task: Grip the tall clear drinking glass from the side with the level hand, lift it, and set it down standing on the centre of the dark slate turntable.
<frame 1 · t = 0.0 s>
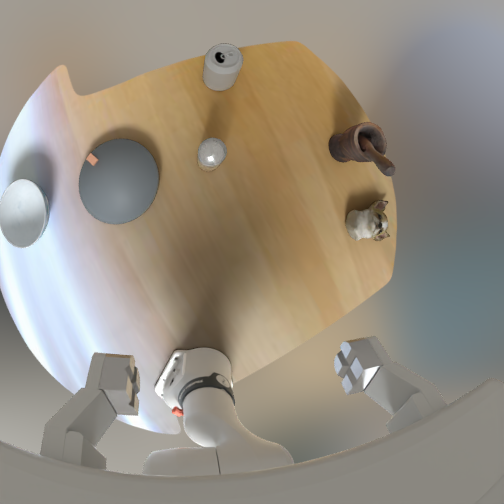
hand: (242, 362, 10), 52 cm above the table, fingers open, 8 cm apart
mortar and pestle: (342, 154, 63), on the table
can: (218, 78, 54), on the table
turntable: (117, 181, 52), point 3 cm above the table, hinge at 0.0°
clear drinking glass: (208, 160, 57), on the table
ceramic sculpture: (362, 221, 68), on the table
chinaware: (37, 211, 51), on the table
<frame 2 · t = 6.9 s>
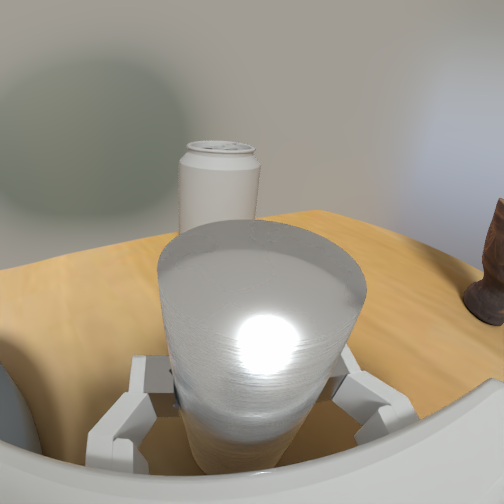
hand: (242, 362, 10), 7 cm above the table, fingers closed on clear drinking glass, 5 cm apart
mortar and pestle: (491, 317, 24), on the table
can: (214, 259, 30), on the table
clear drinking glass: (236, 444, 13), on the table, touching gripper
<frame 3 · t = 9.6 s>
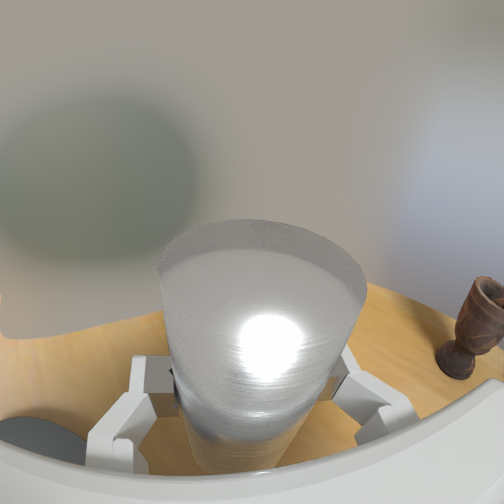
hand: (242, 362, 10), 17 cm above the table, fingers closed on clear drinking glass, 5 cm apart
mortar and pestle: (460, 370, 29), on the table
clear drinking glass: (236, 444, 13), point 10 cm above the table, touching gripper
when the fingers open (11 cm above the table, at t = 12.6 s): clear drinking glass stays where it is, resting on turntable.
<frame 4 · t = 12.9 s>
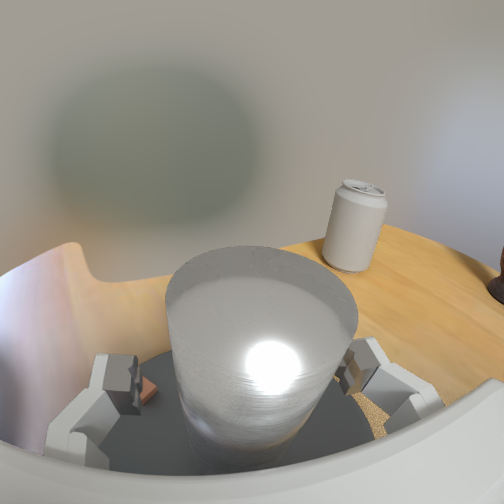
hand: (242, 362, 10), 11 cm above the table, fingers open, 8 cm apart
can: (344, 263, 40), on the table
turntable: (234, 453, 13), point 2 cm above the table, hinge at 0.0°, touching clear drinking glass
clear drinking glass: (235, 449, 13), point 3 cm above the table, touching turntable
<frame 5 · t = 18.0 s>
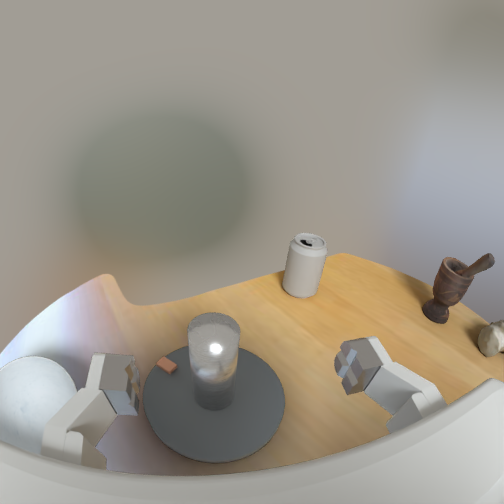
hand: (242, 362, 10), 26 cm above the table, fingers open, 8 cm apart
mortar and pestle: (439, 318, 52), on the table
can: (298, 290, 58), on the table
turntable: (213, 397, 32), point 2 cm above the table, hinge at 0.0°, touching clear drinking glass
clear drinking glass: (213, 394, 31), point 3 cm above the table, touching turntable
ceramic sculpture: (490, 348, 43), on the table
chinaware: (53, 432, 23), on the table
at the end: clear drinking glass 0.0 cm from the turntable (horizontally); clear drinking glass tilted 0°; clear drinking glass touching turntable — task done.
